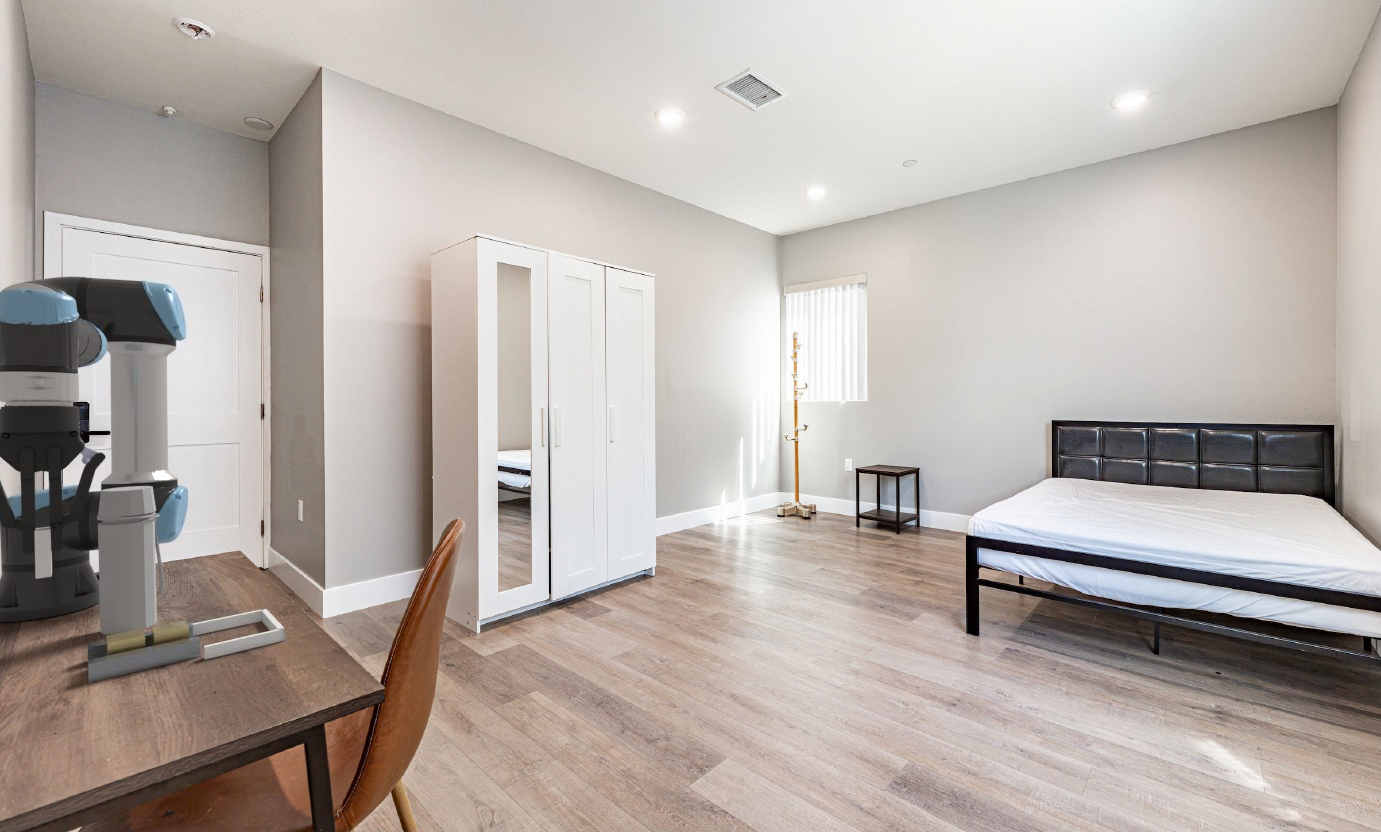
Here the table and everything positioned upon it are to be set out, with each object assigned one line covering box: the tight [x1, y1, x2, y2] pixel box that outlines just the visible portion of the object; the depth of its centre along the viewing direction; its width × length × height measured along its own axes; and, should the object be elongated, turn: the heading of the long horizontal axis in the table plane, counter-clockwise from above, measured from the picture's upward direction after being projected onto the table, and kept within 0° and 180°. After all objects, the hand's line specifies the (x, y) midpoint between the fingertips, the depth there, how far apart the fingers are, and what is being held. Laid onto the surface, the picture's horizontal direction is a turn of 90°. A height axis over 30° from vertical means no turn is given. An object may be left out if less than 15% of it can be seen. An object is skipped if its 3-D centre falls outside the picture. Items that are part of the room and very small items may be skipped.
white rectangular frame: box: [192, 608, 286, 660], centre depth 99 cm, size 14×10×3 cm
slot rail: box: [86, 622, 201, 683], centre depth 91 cm, size 10×12×4 cm
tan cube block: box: [106, 629, 145, 656], centre depth 89 cm, size 4×4×4 cm
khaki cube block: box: [151, 619, 189, 646], centre depth 93 cm, size 4×4×4 cm
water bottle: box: [97, 486, 165, 636], centre depth 104 cm, size 9×8×25 cm
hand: (43, 575), depth 83 cm, fingers closed
